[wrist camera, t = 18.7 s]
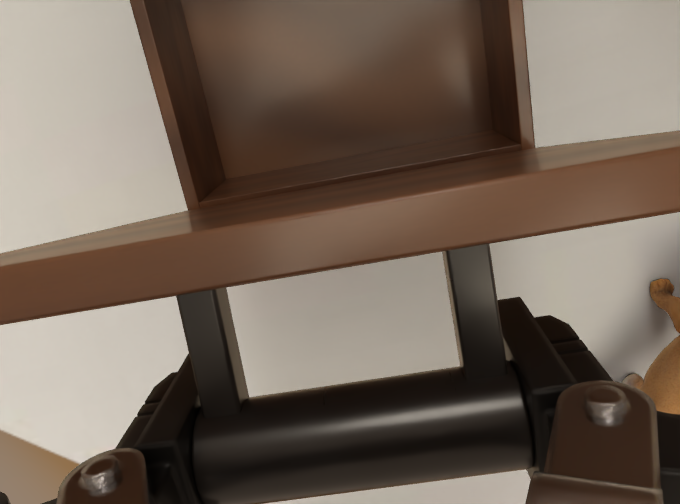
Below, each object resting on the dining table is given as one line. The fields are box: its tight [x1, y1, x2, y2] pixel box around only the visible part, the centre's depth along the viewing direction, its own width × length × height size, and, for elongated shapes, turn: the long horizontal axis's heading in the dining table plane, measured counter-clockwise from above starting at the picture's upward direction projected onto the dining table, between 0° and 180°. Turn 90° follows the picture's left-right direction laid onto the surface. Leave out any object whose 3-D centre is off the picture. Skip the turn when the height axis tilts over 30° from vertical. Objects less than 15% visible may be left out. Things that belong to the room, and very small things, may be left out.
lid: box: [0, 131, 680, 504], centre depth 17 cm, size 18×16×5 cm
